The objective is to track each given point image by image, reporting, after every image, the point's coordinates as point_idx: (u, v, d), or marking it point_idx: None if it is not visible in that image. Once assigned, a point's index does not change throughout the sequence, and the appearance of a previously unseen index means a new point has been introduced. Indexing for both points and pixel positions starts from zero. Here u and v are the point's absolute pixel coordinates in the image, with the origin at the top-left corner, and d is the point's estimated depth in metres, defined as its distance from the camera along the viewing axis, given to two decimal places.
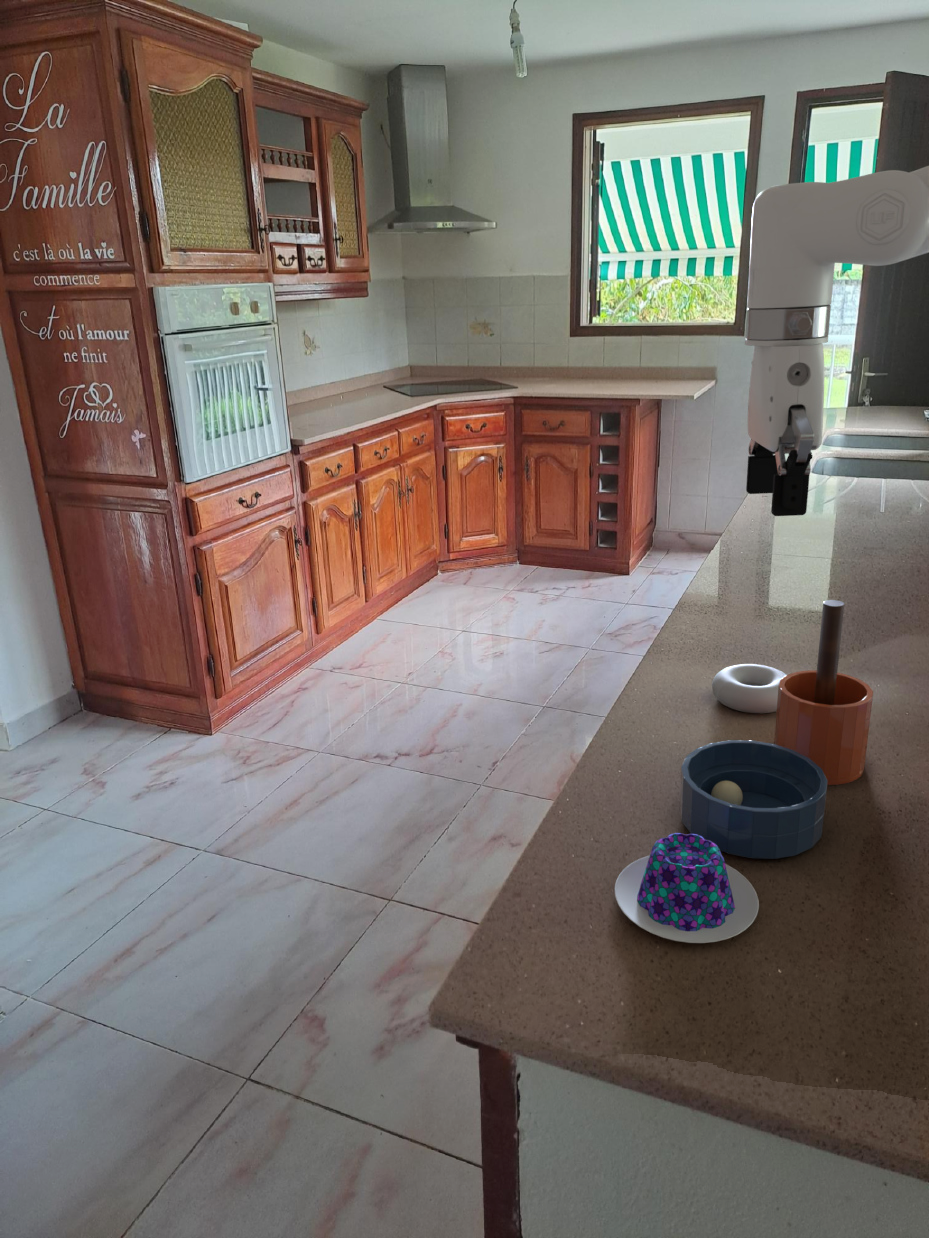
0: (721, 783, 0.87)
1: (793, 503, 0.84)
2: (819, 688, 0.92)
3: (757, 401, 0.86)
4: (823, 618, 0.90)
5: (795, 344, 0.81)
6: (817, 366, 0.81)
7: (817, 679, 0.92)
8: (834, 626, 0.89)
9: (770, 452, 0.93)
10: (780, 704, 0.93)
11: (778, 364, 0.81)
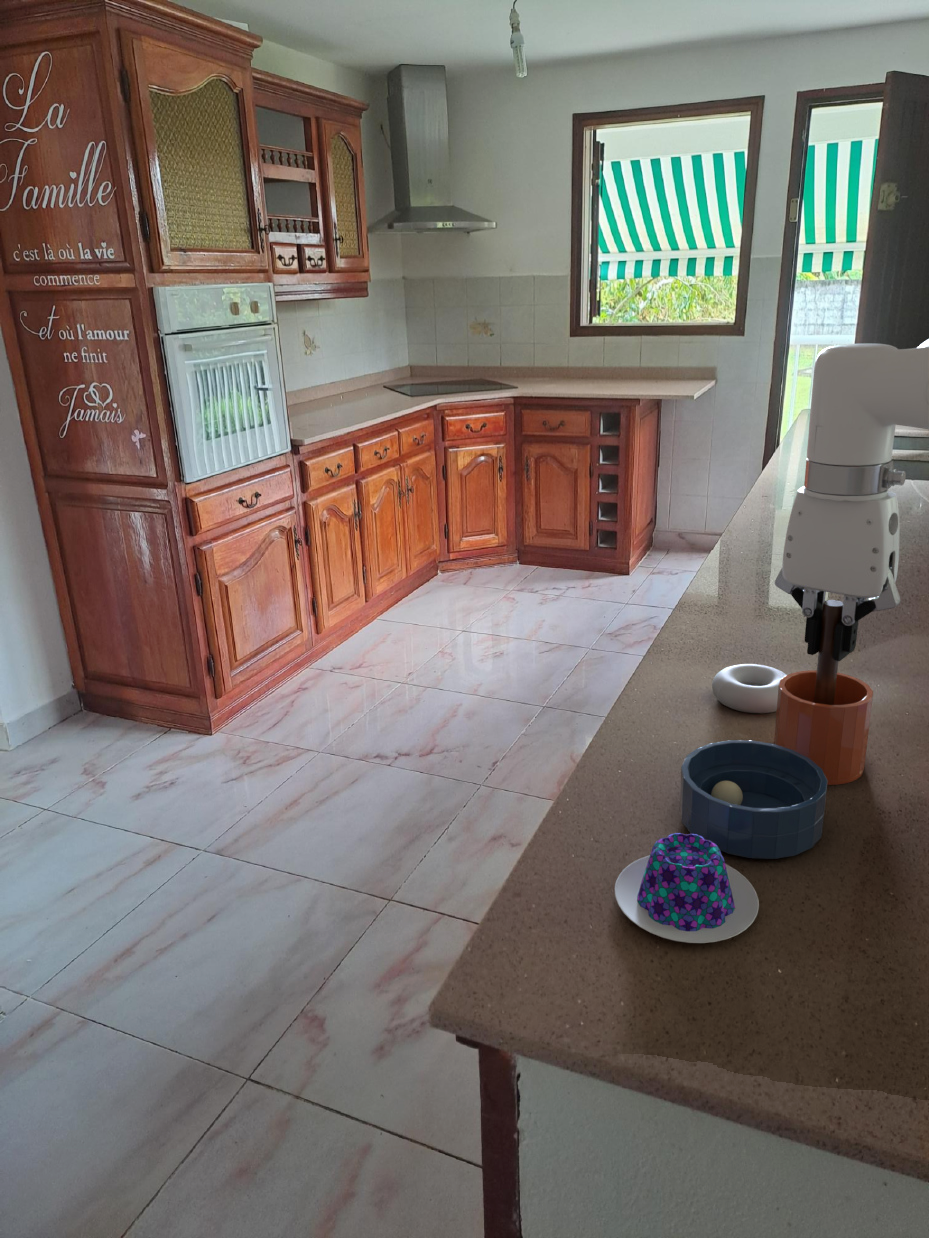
0: (721, 783, 0.87)
1: (853, 646, 0.89)
2: (819, 688, 0.92)
3: (834, 551, 0.85)
4: (823, 618, 0.90)
5: (884, 496, 0.83)
6: (898, 513, 0.84)
7: (817, 679, 0.92)
8: (834, 626, 0.89)
9: None
10: (780, 704, 0.93)
11: (882, 517, 0.82)
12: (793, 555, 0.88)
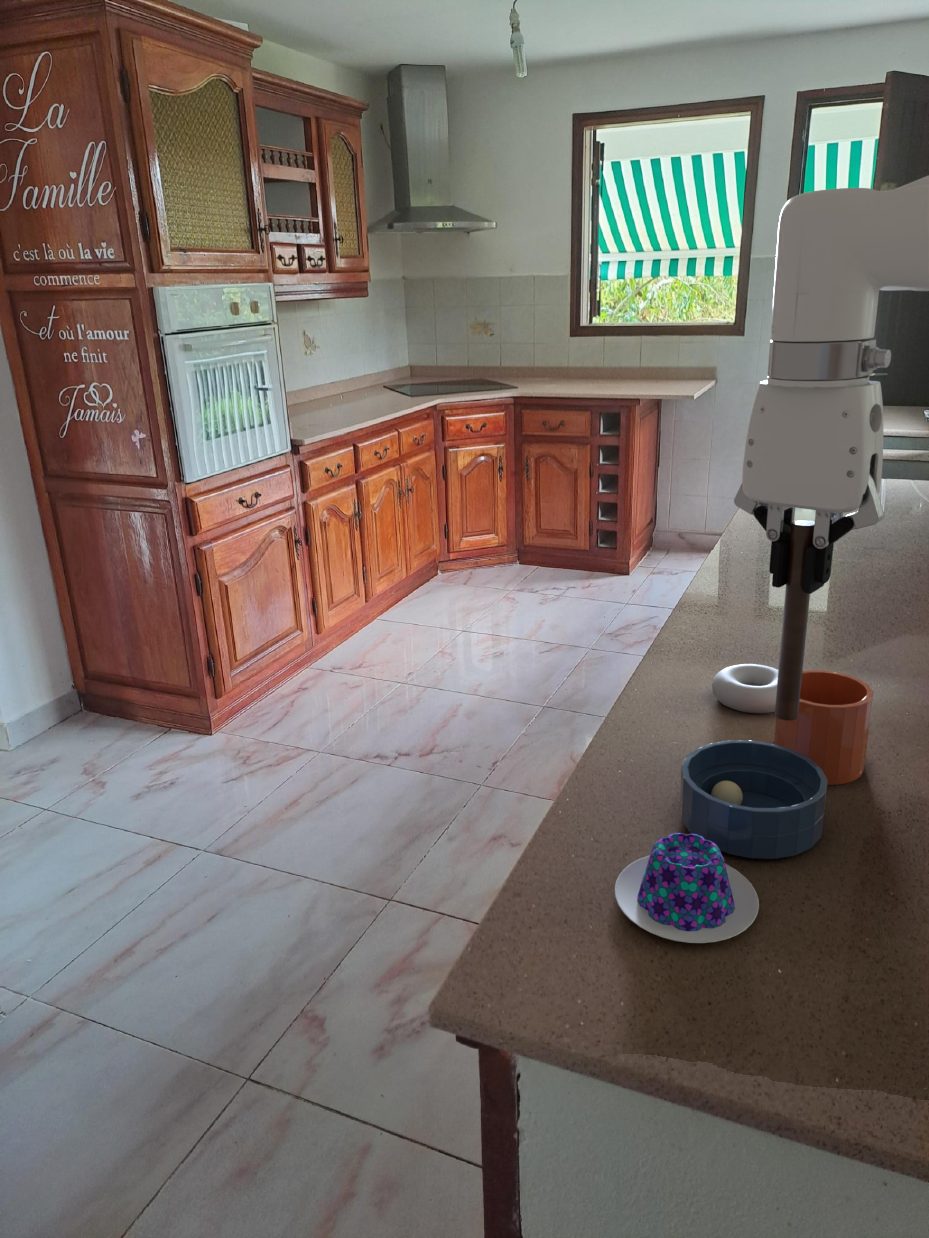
0: (721, 783, 0.87)
1: (827, 575, 0.74)
2: (787, 628, 0.76)
3: (803, 455, 0.69)
4: (791, 541, 0.74)
5: (864, 383, 0.67)
6: (882, 406, 0.68)
7: (784, 618, 0.76)
8: (804, 551, 0.73)
9: None
10: None
11: (862, 408, 0.66)
12: (755, 463, 0.73)
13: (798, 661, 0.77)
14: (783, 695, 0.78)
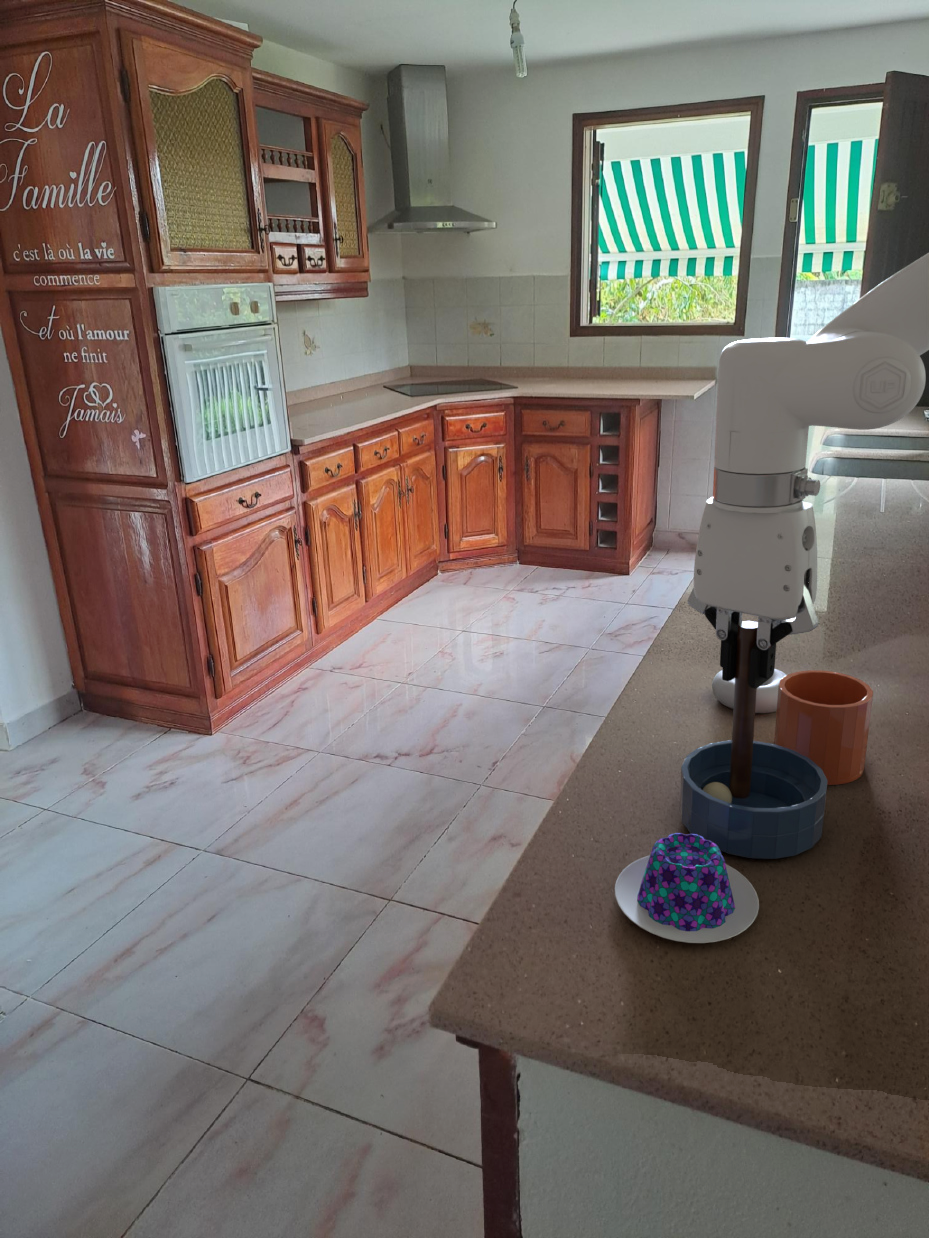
0: None
1: (770, 672, 0.81)
2: (736, 717, 0.84)
3: (744, 568, 0.77)
4: (738, 641, 0.81)
5: (797, 507, 0.74)
6: (815, 526, 0.76)
7: (734, 707, 0.84)
8: (749, 650, 0.81)
9: None
10: (780, 704, 0.93)
11: (794, 531, 0.74)
12: (703, 572, 0.80)
13: (748, 746, 0.84)
14: (735, 776, 0.86)
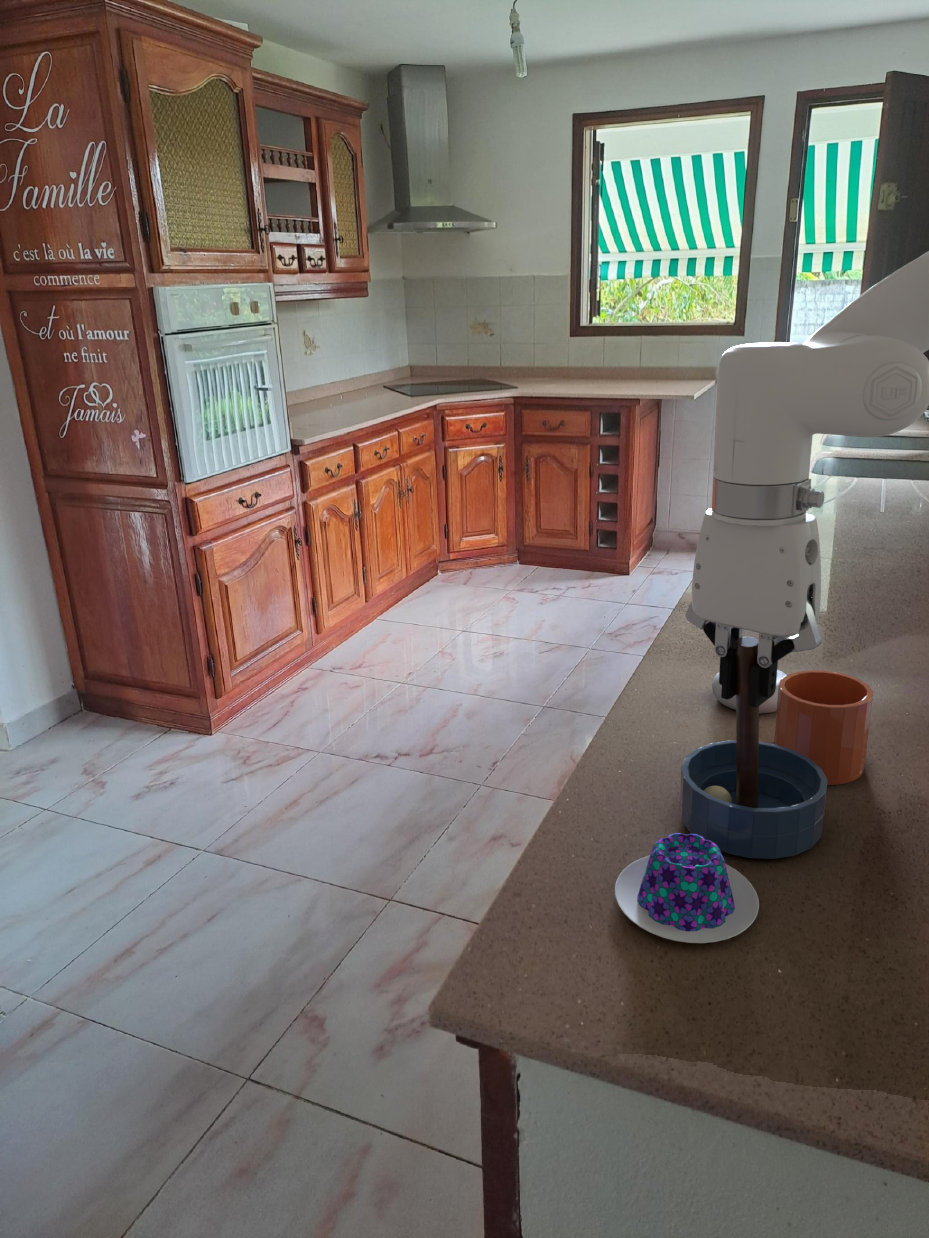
0: None
1: (772, 690, 0.78)
2: (737, 732, 0.81)
3: (745, 583, 0.74)
4: (736, 657, 0.78)
5: (800, 520, 0.71)
6: (818, 539, 0.72)
7: (736, 722, 0.81)
8: (745, 668, 0.78)
9: None
10: (780, 704, 0.93)
11: (797, 545, 0.70)
12: (702, 586, 0.77)
13: (749, 762, 0.82)
14: (739, 789, 0.84)
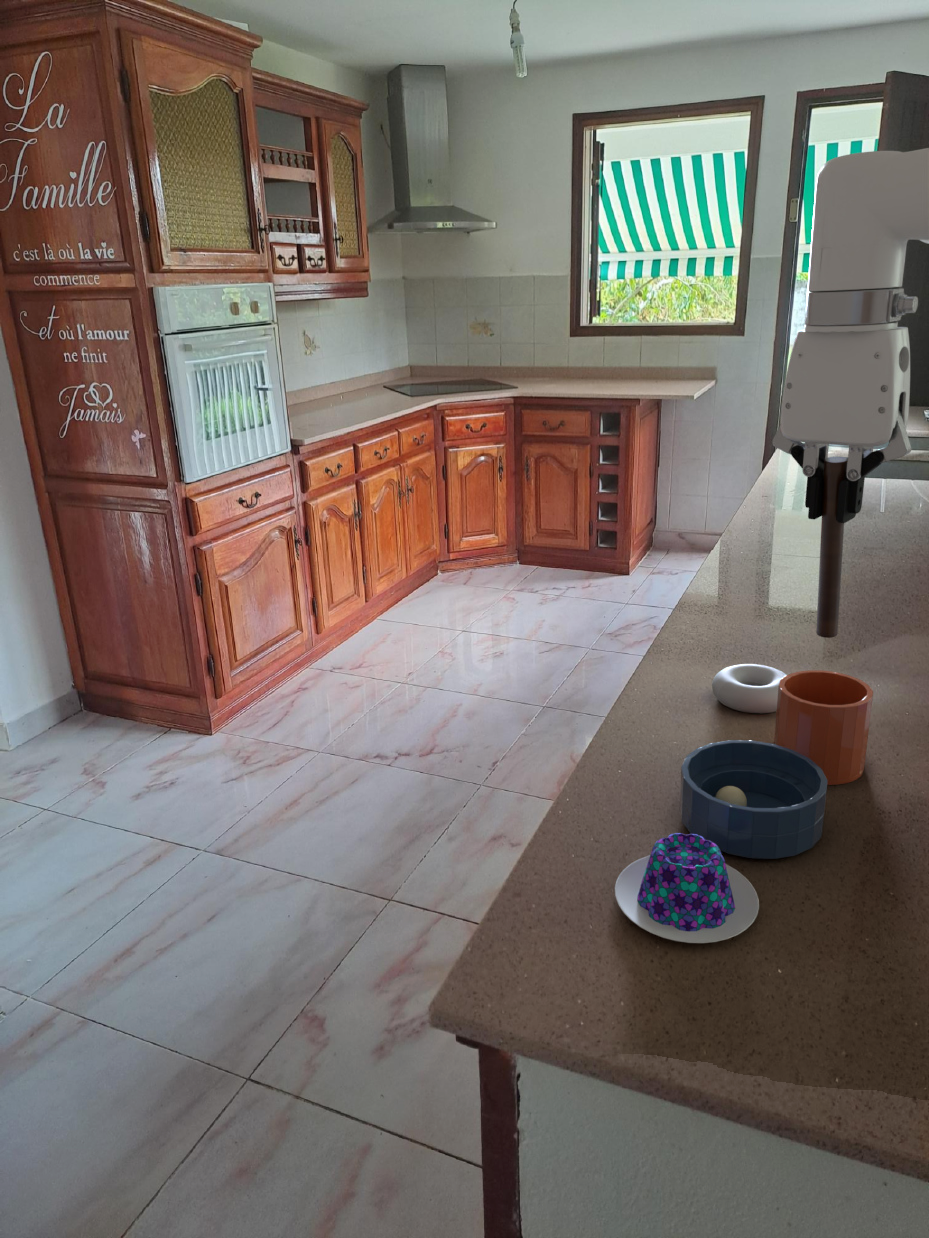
0: (729, 786, 0.86)
1: (858, 506, 0.81)
2: (821, 555, 0.85)
3: (838, 395, 0.77)
4: None
5: (893, 327, 0.75)
6: (909, 349, 0.76)
7: (820, 545, 0.85)
8: (833, 485, 0.81)
9: None
10: (780, 704, 0.93)
11: (892, 349, 0.74)
12: (793, 405, 0.80)
13: (832, 585, 0.85)
14: (820, 614, 0.87)
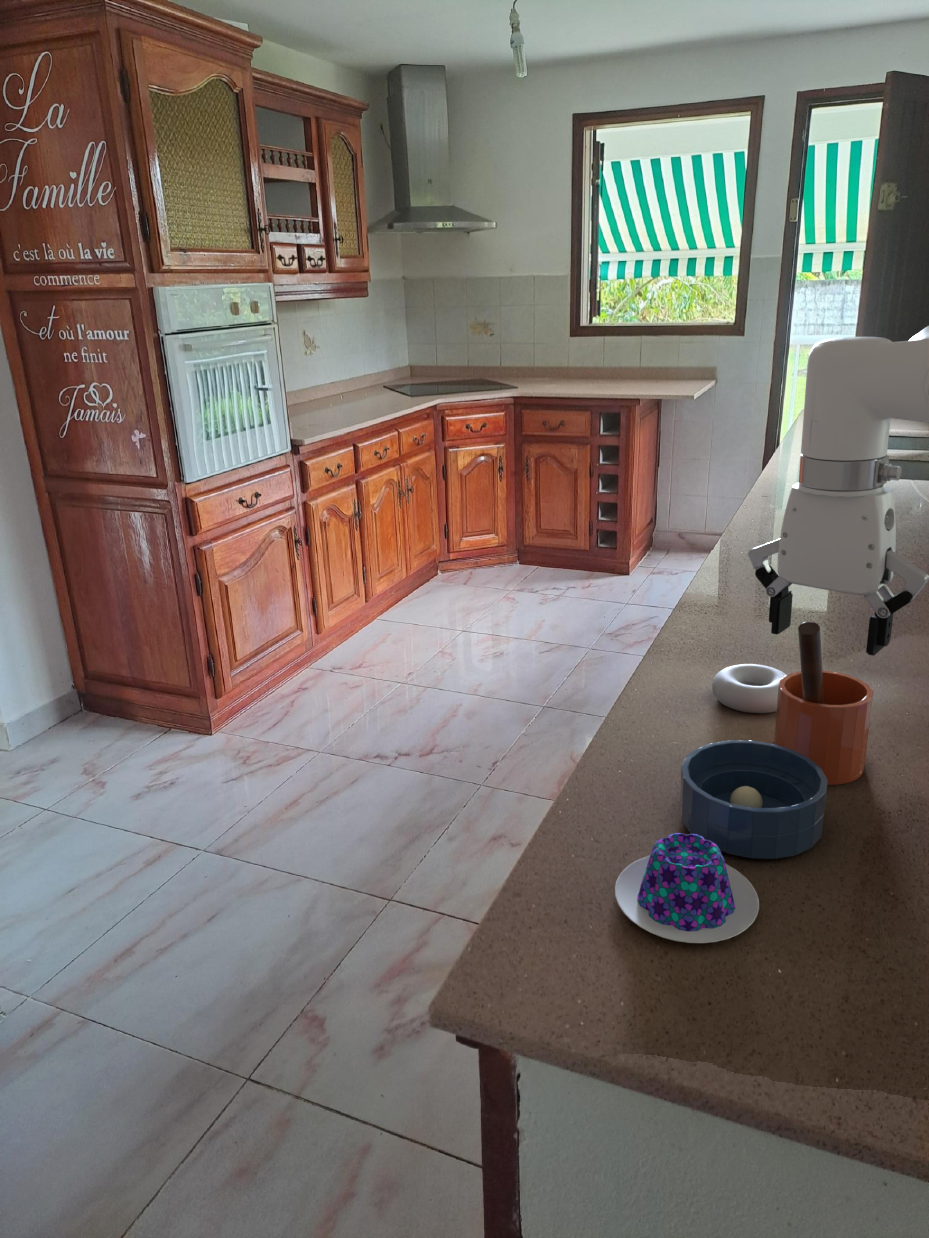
0: (758, 792, 0.86)
1: (887, 639, 0.85)
2: None
3: (829, 548, 0.84)
4: (799, 641, 0.87)
5: (880, 491, 0.81)
6: None
7: None
8: (808, 651, 0.86)
9: (787, 590, 0.91)
10: (780, 704, 0.93)
11: (878, 513, 0.81)
12: (788, 552, 0.87)
13: None
14: None
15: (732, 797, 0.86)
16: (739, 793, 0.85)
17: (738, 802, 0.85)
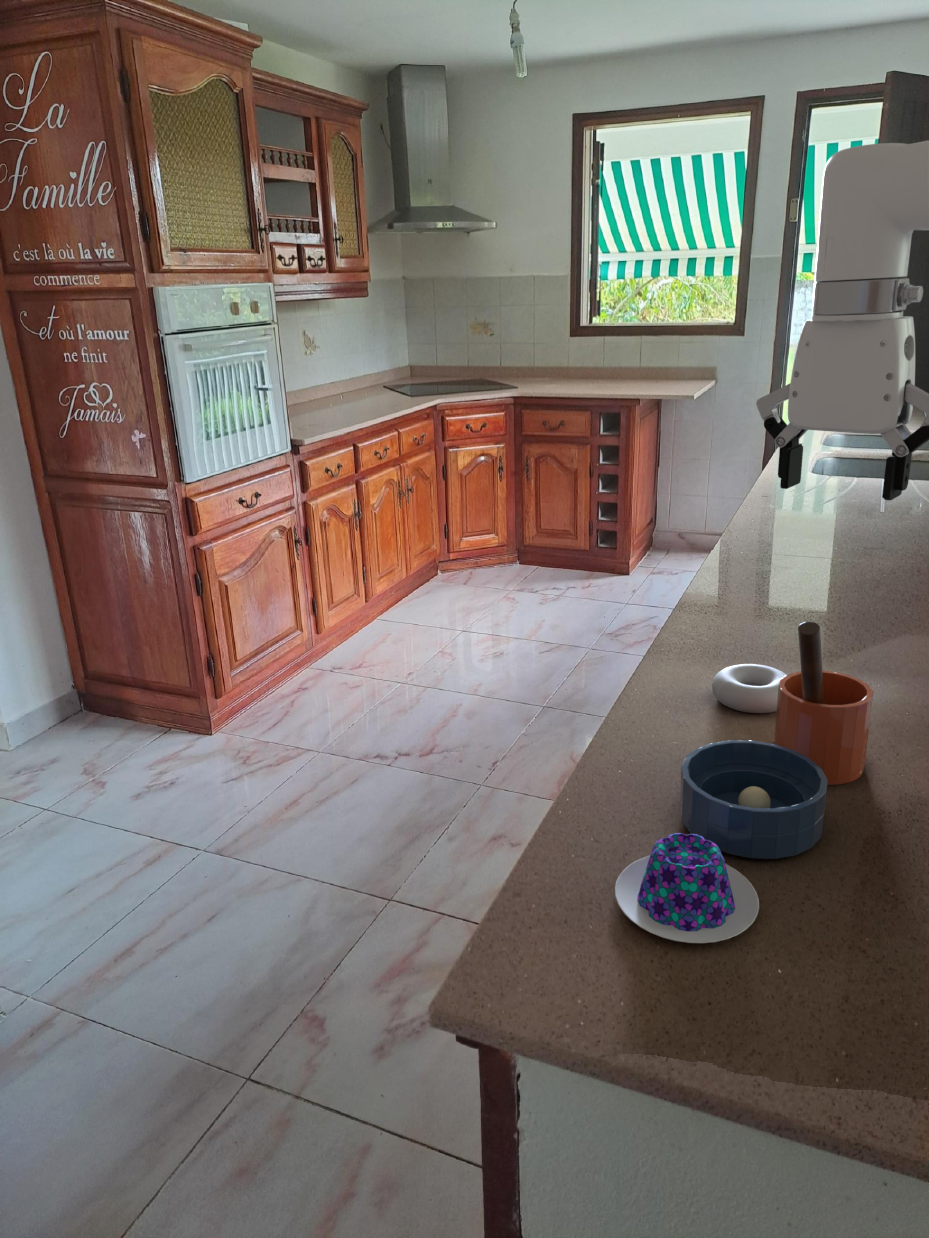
0: None
1: (905, 483, 0.80)
2: None
3: (844, 383, 0.79)
4: (799, 641, 0.87)
5: (899, 316, 0.76)
6: (914, 338, 0.77)
7: None
8: (808, 651, 0.86)
9: (797, 441, 0.86)
10: (780, 704, 0.93)
11: (897, 338, 0.75)
12: (800, 393, 0.82)
13: None
14: None
15: (745, 792, 0.85)
16: (755, 791, 0.85)
17: (751, 799, 0.85)
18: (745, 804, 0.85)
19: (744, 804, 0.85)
